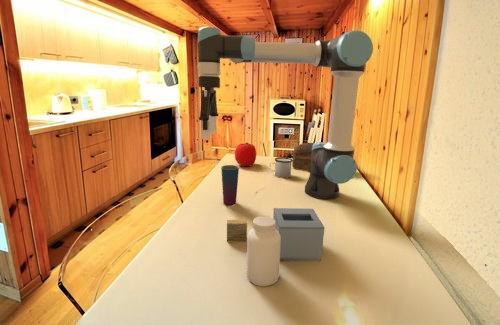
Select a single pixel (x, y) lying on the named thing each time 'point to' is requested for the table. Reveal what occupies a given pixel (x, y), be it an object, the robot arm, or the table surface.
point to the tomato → (245, 154)
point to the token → (237, 230)
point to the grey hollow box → (299, 234)
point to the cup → (229, 184)
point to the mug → (282, 167)
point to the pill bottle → (263, 252)
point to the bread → (302, 156)
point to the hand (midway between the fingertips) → (209, 136)
